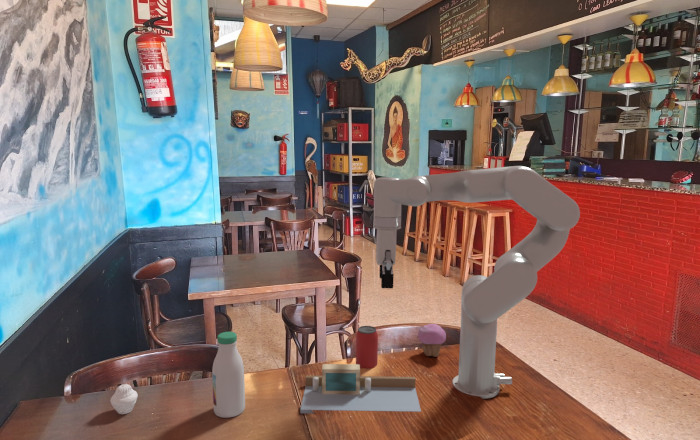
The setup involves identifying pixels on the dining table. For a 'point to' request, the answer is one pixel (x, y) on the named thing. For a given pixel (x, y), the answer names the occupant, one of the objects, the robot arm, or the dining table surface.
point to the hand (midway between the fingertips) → (386, 282)
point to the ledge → (363, 395)
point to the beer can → (367, 347)
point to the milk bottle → (228, 378)
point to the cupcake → (431, 339)
